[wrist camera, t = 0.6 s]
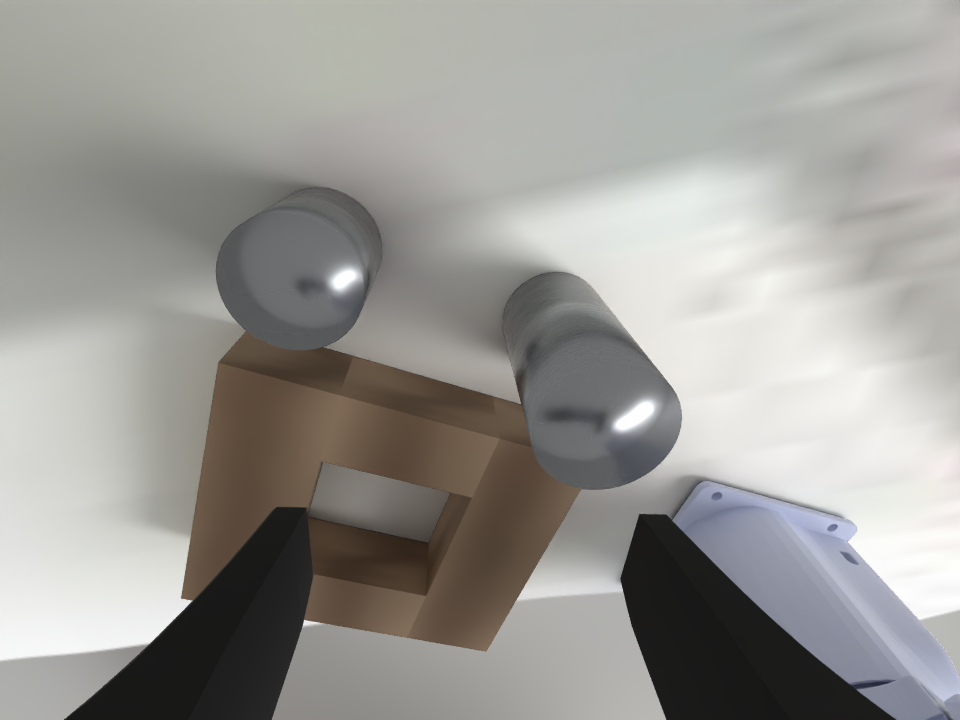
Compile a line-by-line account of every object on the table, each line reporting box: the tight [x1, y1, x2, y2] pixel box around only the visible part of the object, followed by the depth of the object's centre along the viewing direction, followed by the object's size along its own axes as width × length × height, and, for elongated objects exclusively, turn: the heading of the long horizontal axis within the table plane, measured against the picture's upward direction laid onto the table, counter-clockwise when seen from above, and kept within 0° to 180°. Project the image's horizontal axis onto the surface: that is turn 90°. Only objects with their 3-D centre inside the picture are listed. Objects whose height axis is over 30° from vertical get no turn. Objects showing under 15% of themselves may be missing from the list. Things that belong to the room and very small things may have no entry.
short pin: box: [216, 187, 382, 350], centre depth 16 cm, size 4×4×4 cm
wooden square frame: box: [181, 331, 581, 651], centre depth 22 cm, size 14×12×3 cm
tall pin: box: [502, 272, 682, 490], centre depth 16 cm, size 4×4×8 cm
